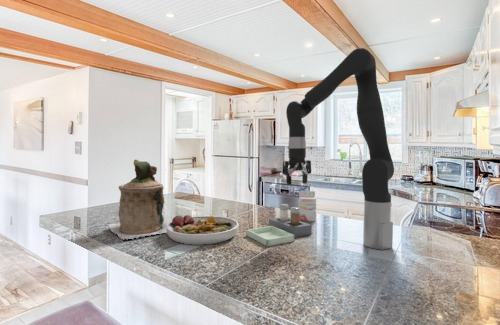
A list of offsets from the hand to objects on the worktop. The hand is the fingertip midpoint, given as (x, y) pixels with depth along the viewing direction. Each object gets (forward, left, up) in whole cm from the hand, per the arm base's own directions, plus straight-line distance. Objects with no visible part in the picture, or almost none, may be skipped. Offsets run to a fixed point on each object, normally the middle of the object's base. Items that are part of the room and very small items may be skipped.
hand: (297, 183), depth 132 cm
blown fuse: (-2, +3, -21) cm, 21 cm away
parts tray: (-3, +17, -21) cm, 27 cm away
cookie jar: (+36, +60, -21) cm, 73 cm away
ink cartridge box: (+13, -17, -21) cm, 30 cm away
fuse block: (+2, +3, -21) cm, 21 cm away
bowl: (+15, +39, -22) cm, 47 cm away
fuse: (+6, +3, -21) cm, 22 cm away
